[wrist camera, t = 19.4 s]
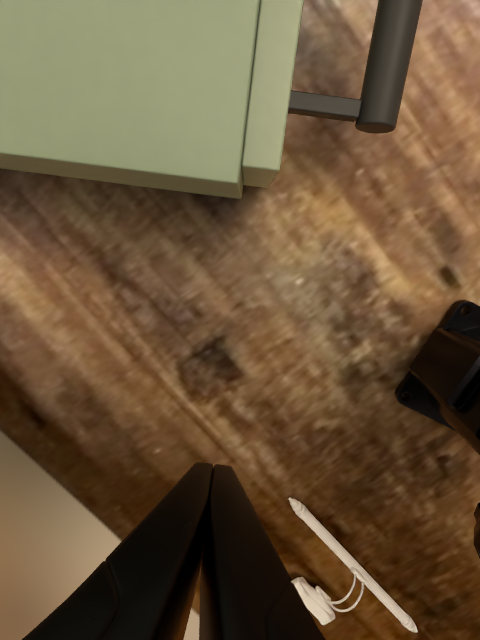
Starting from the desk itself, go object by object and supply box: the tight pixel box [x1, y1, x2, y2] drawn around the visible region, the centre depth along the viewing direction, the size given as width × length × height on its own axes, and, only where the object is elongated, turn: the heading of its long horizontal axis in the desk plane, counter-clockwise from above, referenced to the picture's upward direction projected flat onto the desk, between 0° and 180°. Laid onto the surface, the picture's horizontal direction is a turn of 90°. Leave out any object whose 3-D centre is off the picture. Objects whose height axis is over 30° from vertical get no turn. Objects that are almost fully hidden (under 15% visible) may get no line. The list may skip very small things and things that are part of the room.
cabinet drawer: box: [241, 0, 422, 188], centre depth 13 cm, size 17×10×6 cm, turn 83°
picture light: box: [288, 497, 418, 633], centre depth 24 cm, size 14×4×2 cm, turn 40°
